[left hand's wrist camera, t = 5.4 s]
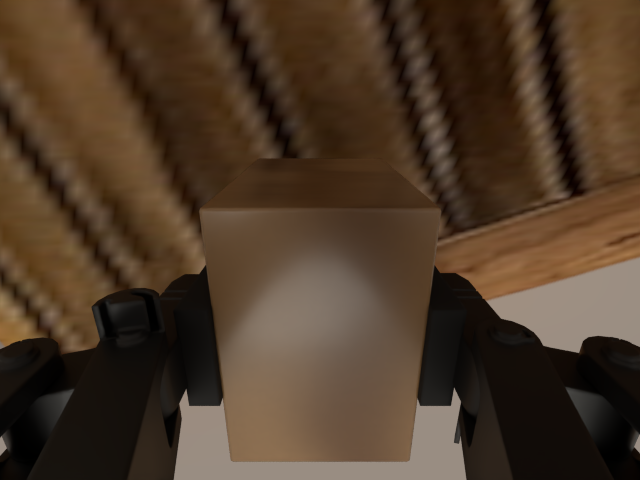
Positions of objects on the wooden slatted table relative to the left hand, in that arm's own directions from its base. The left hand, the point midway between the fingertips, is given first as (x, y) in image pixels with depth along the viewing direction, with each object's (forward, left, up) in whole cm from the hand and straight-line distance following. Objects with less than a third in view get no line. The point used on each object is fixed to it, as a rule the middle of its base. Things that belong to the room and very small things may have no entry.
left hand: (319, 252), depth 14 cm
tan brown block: (0, 0, -1) cm, 1 cm away
